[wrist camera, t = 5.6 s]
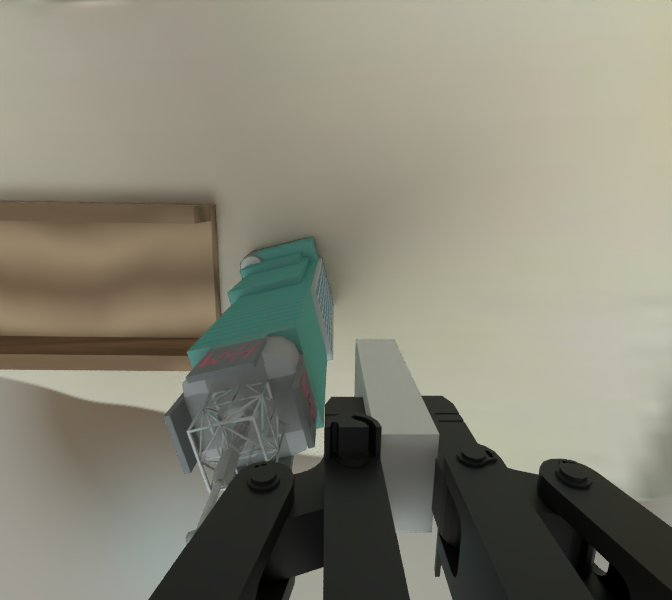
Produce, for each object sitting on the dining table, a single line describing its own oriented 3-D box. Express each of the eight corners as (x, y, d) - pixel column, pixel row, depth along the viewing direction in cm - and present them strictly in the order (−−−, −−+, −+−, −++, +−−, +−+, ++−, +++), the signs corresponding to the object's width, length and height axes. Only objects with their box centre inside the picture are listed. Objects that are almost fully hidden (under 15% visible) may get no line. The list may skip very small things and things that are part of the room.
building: (265, 320, 35) (-53, 882, 6) (245, 252, 34) (-280, 575, 5) (333, 305, 35) (327, 822, 6) (316, 235, 34) (202, 474, 5)
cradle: (-143, 198, 32) (-236, 198, 27) (215, 204, 33) (193, 205, 28) (-107, 342, 35) (-184, 367, 30) (222, 345, 36) (203, 371, 31)
